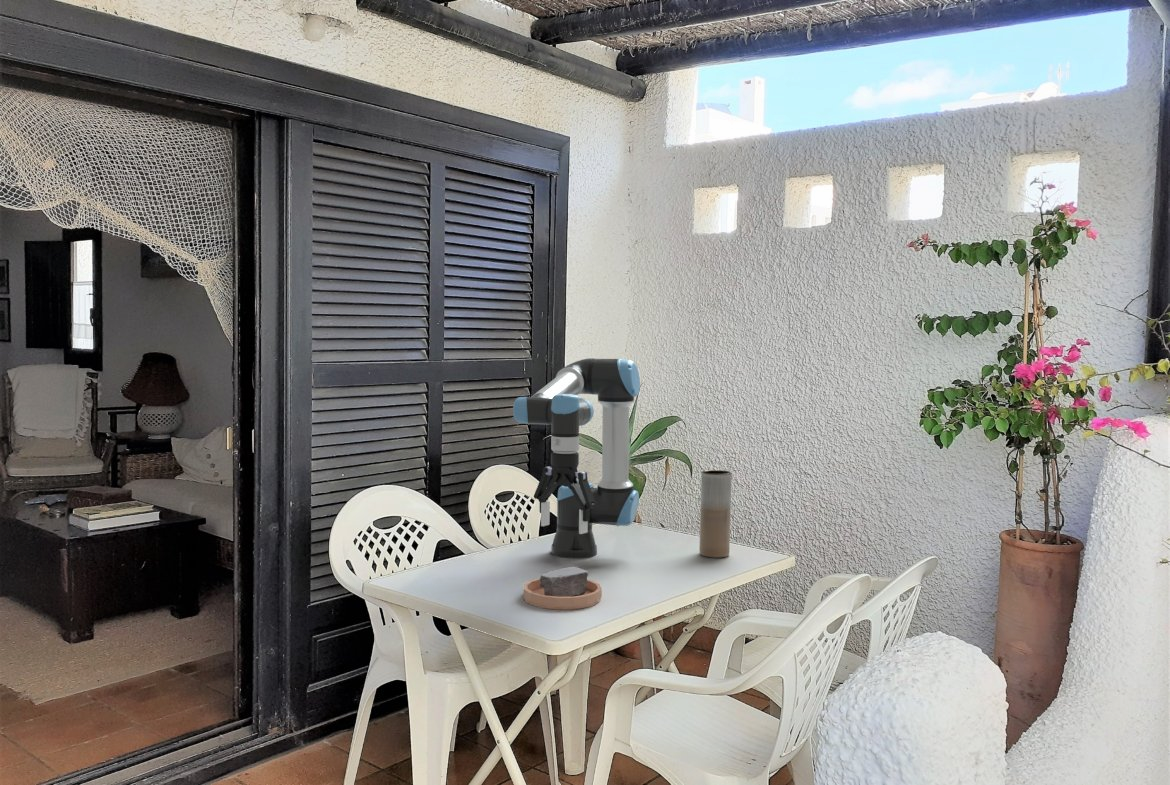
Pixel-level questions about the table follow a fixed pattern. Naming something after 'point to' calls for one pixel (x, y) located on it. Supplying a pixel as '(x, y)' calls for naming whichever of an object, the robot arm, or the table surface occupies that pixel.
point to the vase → (715, 513)
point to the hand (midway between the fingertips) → (563, 529)
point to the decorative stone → (564, 582)
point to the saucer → (538, 599)
